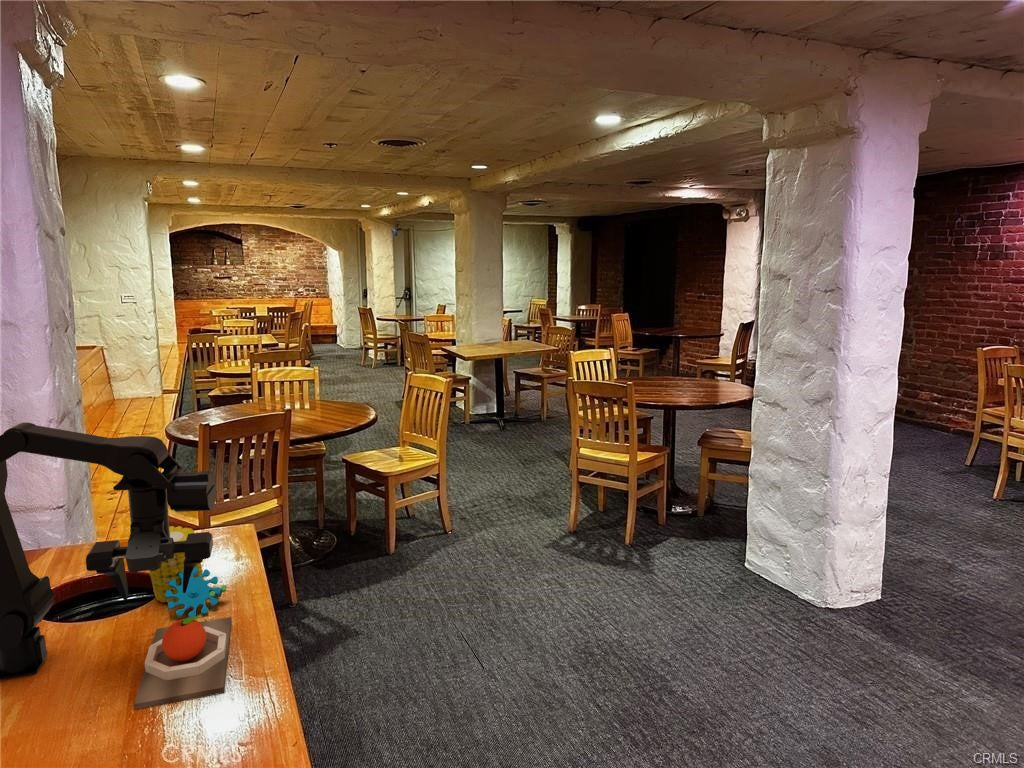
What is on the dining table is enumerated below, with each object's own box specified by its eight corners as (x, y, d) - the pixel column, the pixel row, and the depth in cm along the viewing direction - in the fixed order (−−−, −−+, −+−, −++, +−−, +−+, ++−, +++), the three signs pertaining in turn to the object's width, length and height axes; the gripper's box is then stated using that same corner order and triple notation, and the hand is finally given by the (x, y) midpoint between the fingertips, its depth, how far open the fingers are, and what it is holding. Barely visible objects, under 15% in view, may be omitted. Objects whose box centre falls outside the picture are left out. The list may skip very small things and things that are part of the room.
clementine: (197, 638, 122) (194, 603, 120) (221, 650, 118) (218, 614, 117) (155, 661, 115) (151, 624, 114) (179, 675, 112) (175, 637, 110)
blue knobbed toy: (163, 618, 127) (167, 567, 132) (162, 627, 131) (167, 577, 136) (225, 613, 132) (227, 564, 137) (223, 622, 136) (225, 574, 141)
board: (134, 709, 105) (133, 704, 105) (156, 633, 125) (156, 628, 125) (224, 692, 109) (223, 687, 109) (231, 621, 129) (231, 616, 129)
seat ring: (141, 684, 109) (140, 676, 109) (154, 642, 120) (153, 634, 120) (223, 670, 113) (222, 661, 113) (228, 630, 125) (227, 622, 124)
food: (213, 593, 142) (175, 619, 133) (171, 572, 146) (131, 597, 136) (218, 532, 138) (179, 555, 128) (174, 512, 141) (133, 533, 132)
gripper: (71, 537, 103) (81, 628, 106) (203, 525, 109) (209, 612, 112) (91, 510, 113) (99, 593, 116) (210, 500, 119) (215, 580, 122)
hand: (155, 595), depth 116 cm, fingers open, 9 cm apart
